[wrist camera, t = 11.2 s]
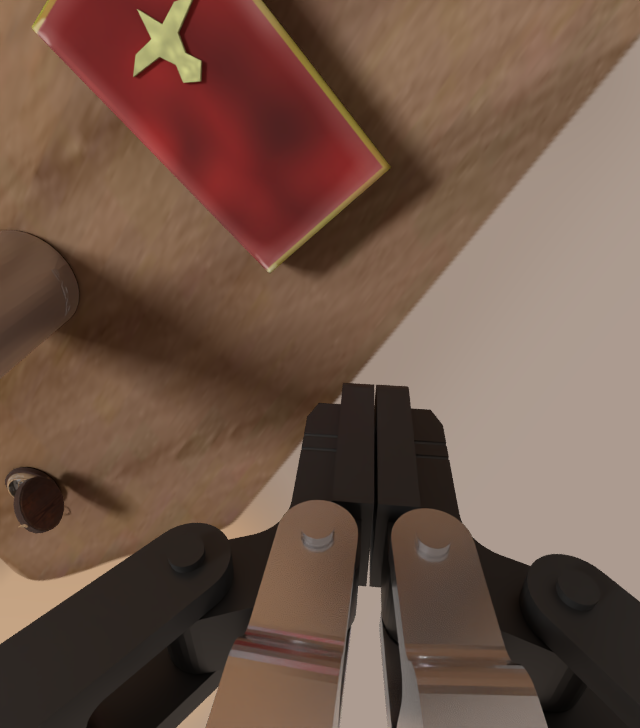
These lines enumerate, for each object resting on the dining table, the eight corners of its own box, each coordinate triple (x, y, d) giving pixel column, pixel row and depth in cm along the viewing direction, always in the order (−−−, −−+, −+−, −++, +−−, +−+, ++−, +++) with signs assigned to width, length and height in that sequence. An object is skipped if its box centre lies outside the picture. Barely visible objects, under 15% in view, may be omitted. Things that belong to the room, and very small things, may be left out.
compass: (-2, 472, 58) (-46, 521, 52) (49, 457, 56) (9, 506, 50) (42, 516, 62) (5, 567, 55) (91, 503, 59) (58, 555, 53)
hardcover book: (275, 258, 41) (265, 277, 37) (62, 34, 34) (25, 32, 30) (389, 157, 36) (391, 168, 32) (168, -132, 28) (138, -158, 25)
